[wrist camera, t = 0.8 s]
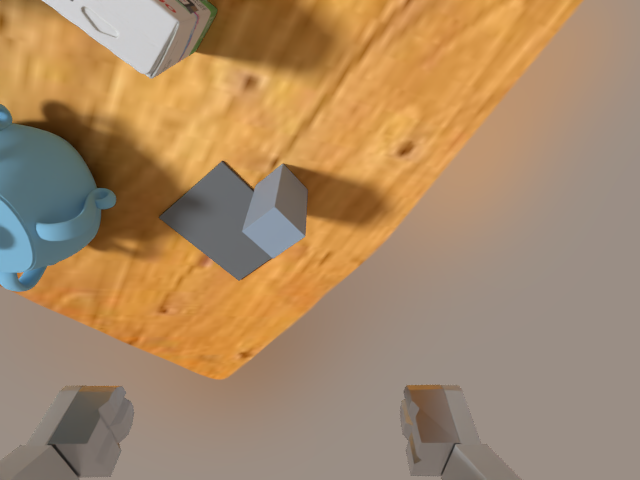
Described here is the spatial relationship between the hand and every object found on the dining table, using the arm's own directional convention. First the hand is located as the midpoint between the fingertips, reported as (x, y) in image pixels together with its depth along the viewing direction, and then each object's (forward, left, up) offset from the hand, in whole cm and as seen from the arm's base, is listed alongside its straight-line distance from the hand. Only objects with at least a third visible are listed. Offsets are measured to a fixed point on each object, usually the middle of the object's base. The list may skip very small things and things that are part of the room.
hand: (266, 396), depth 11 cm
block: (+9, +7, -35) cm, 36 cm away
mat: (+18, +7, -35) cm, 40 cm away
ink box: (+4, -14, -35) cm, 38 cm away
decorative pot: (+30, -12, -35) cm, 48 cm away
